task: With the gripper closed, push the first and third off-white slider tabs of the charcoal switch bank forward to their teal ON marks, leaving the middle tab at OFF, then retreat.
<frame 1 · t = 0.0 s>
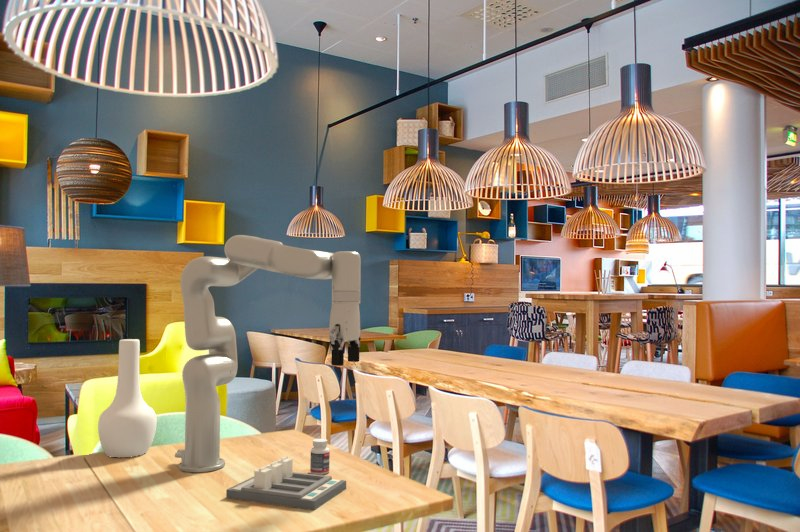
hand: (345, 363, 166), 31 cm above the table, fingers open, 9 cm apart
vase: (127, 454, 195), on the table
pill bottle: (319, 473, 175), on the table
tab b: (273, 472, 158), point 5 cm above the table, slide at 0.0 cm
switch bank: (287, 493, 157), on the table
tab c: (284, 467, 163), point 5 cm above the table, slide at 0.0 cm
tab a: (262, 478, 154), point 5 cm above the table, slide at 0.0 cm
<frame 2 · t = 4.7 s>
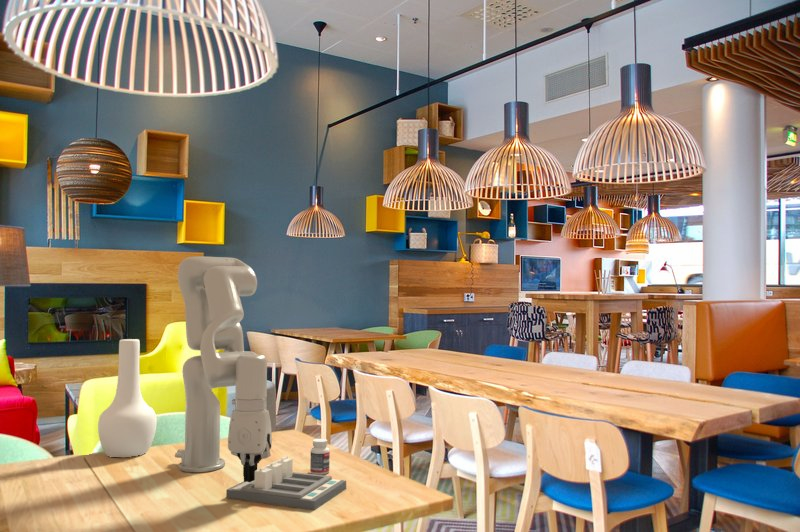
hand: (250, 480, 155), 4 cm above the table, fingers closed
tab a: (263, 478, 154), point 5 cm above the table, slide at 0.1 cm, touching gripper
everything else where it was.
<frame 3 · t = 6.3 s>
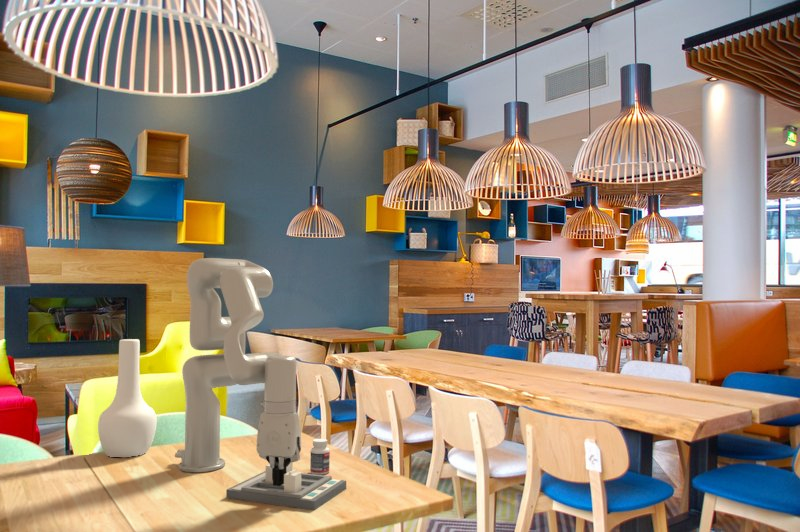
hand: (279, 484, 152), 4 cm above the table, fingers closed
tab a: (292, 481, 151), point 5 cm above the table, slide at 8.3 cm, touching gripper
everything else where it was.
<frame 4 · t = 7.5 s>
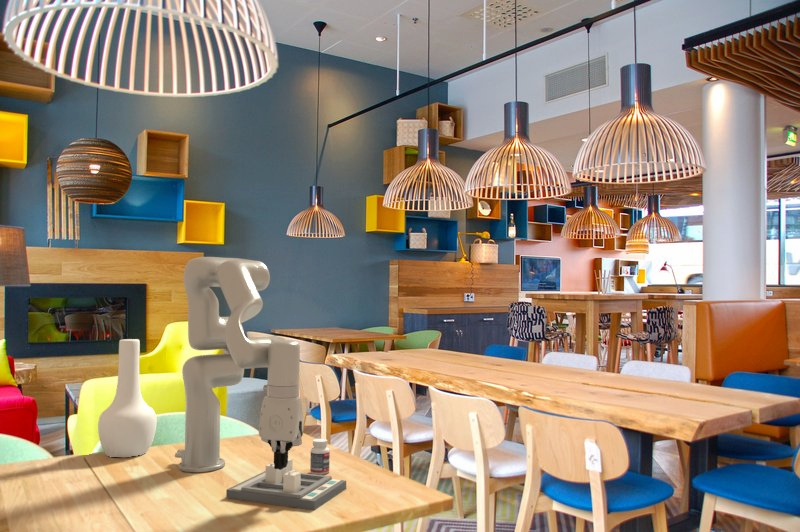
hand: (280, 467, 152), 8 cm above the table, fingers closed
tab a: (292, 481, 151), point 5 cm above the table, slide at 8.1 cm
everything else where it was.
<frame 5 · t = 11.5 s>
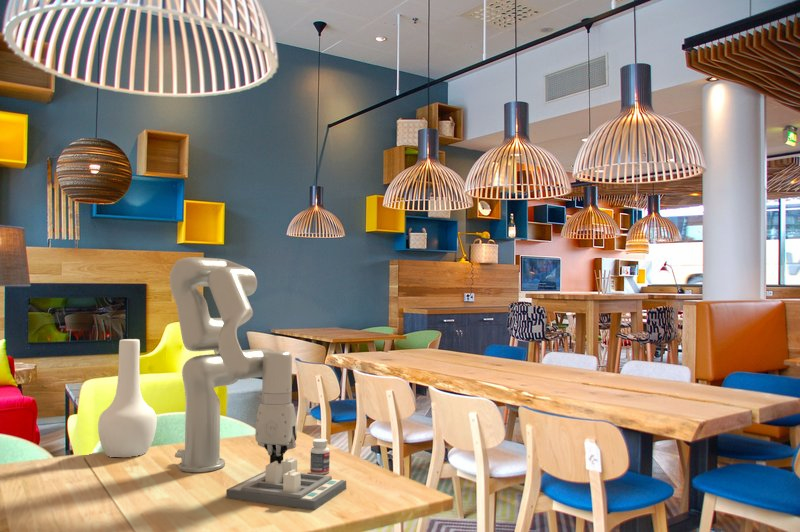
hand: (276, 470, 164), 4 cm above the table, fingers closed
tab c: (289, 467, 162), point 5 cm above the table, slide at 1.4 cm, touching gripper
everything else where it was.
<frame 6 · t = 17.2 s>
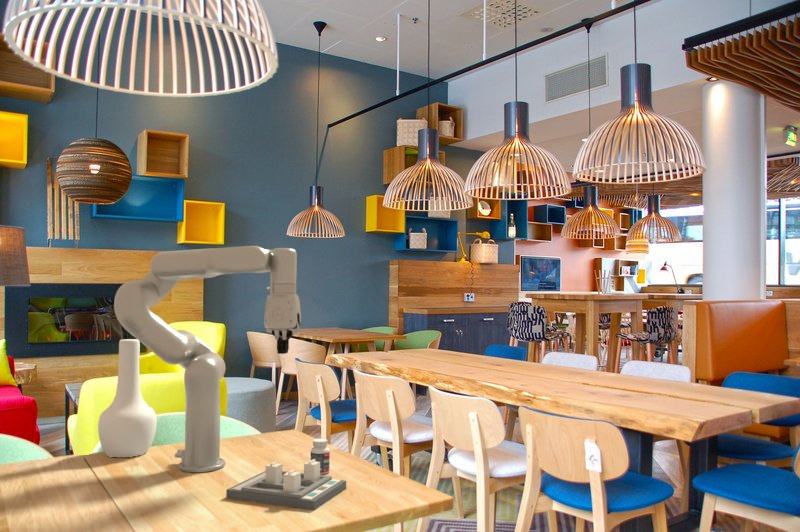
hand: (282, 353, 184), 32 cm above the table, fingers closed
tab c: (312, 470, 160), point 5 cm above the table, slide at 8.1 cm
everything else where it was.
at the end: tab a slide at 8.1 cm; tab c slide at 8.1 cm; tab b slide at 0.0 cm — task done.
